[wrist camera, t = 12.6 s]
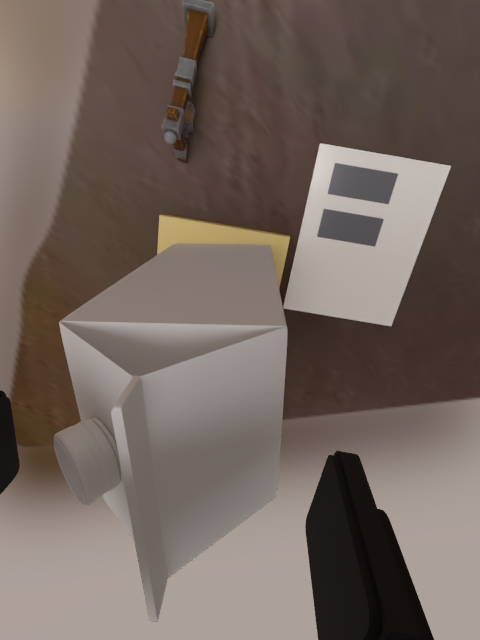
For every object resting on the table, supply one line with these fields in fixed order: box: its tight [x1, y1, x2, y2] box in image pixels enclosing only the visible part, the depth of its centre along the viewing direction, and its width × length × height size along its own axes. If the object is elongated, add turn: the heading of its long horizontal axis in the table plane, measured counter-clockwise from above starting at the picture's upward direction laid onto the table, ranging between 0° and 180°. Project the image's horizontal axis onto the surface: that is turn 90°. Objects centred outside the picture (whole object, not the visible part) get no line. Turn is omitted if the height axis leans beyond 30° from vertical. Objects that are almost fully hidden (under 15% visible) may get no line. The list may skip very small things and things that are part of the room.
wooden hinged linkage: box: [161, 0, 215, 162], centre depth 20 cm, size 2×8×4 cm, turn 168°
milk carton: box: [54, 244, 287, 622], centre depth 16 cm, size 7×7×19 cm
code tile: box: [283, 143, 451, 326], centre depth 24 cm, size 9×12×1 cm
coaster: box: [157, 214, 290, 287], centre depth 25 cm, size 10×10×1 cm
